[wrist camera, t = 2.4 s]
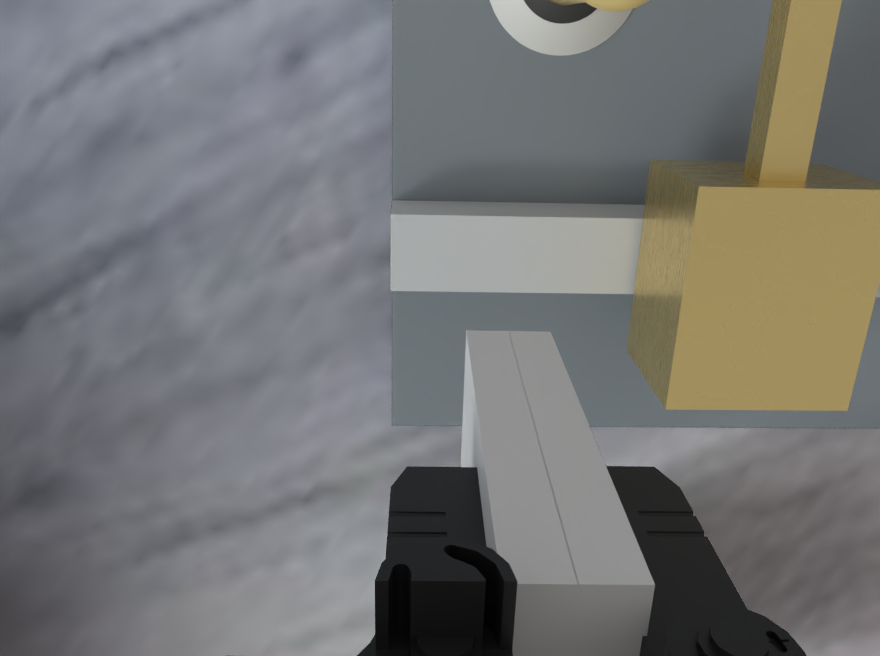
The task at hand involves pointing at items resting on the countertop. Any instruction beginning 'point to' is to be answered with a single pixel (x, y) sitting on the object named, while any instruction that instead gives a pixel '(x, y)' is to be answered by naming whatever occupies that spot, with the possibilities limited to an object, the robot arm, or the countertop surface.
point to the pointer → (760, 251)
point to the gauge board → (580, 180)
